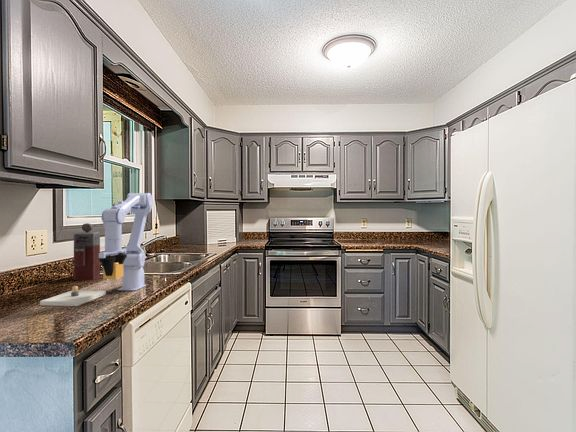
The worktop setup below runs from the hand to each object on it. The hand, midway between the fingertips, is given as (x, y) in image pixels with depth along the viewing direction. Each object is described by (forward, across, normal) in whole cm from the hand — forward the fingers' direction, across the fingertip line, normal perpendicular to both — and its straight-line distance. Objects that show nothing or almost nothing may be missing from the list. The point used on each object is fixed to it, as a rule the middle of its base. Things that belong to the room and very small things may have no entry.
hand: (113, 274), depth 122 cm
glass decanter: (+10, +33, +35) cm, 49 cm away
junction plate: (+9, -3, +14) cm, 17 cm away
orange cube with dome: (+1, 0, 0) cm, 1 cm away
